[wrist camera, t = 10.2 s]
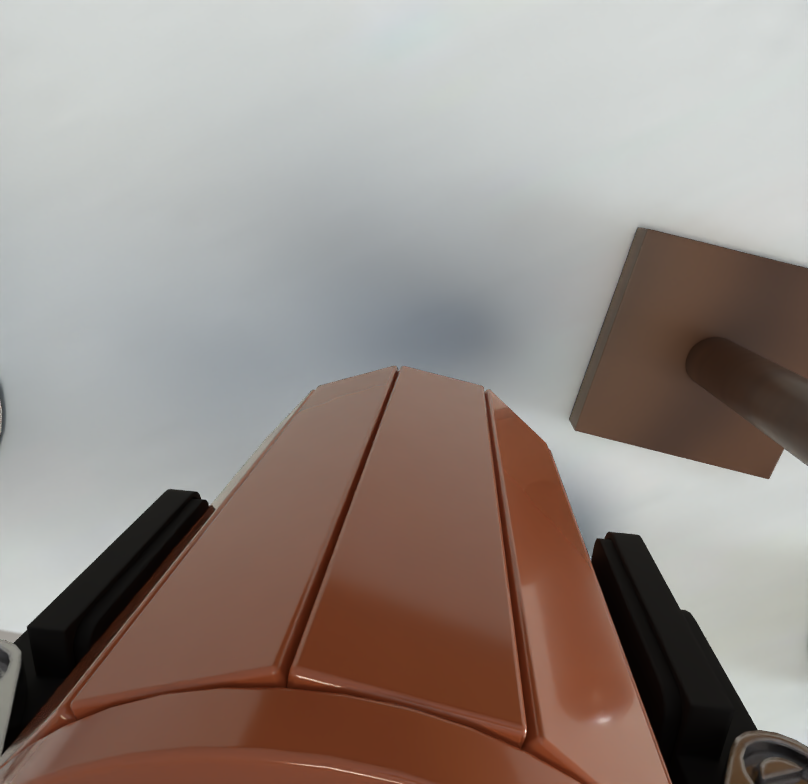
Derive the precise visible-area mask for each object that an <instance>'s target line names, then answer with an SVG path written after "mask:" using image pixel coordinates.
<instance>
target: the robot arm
mask: <svg viewBox="0 0 808 784" xmlns="http://www.w3.org/2000/svg"><path fill="white" fill-rule="evenodd" d="M1 425H2V408H1V401H0V433H1ZM208 507H209V505H208V502H207V501H206V500H202V499H201V497H200V494H199V493H198V492H194V491H184V490H174V489H168V490H167V491H165V492H164V493H163V494H162V495H161V496H160V497H159V498H158V499H157V500H156V501H155V502H154V503H153V504H152V505H151V506H150V507H149V508H148V509H147V510H146V511H145V512H144V513H143V514H142V515H141V516H140V517H139V518H138V519H137V520H136V521H135V522H134V523H133V524H132V525H131V526H130V527H129V528H128V529H127V530H125V531H124V532H123V533H122V534H121V535H120V536H119V537H118V538H117V539H116V540H115V541H114V542H113V543H112V544H111V545H110V546H109V547H108V548H107V549H106V550H105V551H104V552H103V553H102V554H101V555H100V556H99V557H98V558H97V559H96V560H95V561H94V562H93V563H92V564H91V565H90V566H89V567H88V568H87V569H86V570H85V571H84V572H82V573H81V574H80V575H79V576H78V577H77V578H76V579H75V580H74V581H73V582H72V583H71V584H70V585H69V586H68V587H67V588H66V589H65V590H64V591H63V592H62V593H61V594H60V595H59V596H58V597H57V598H56V599H55V600H54V601H53V602H52V603H51V604H50V605H49V606H48V607H47V608H46V609H45V610H44V611H43V612H42V613H40V614H39V615H38V616H37V617H36V618H35V619H34V620H33V621H32V622H31V623H30V624H29V625H28V626H27V630H26V631H25V632H24V633H23V634H22V635H21V636H20V637H19V638H18V639H17V640H16V641H15V642H14V643H11V642H8V641H6V640H0V758H1V756H2V755H3V754H4V753H5V751H6V750H7V749H8V748H9V747H10V745H11V744H12V743H13V742H14V741H15V739H16V738H17V737H18V736H19V735H20V733H21V732H22V731H23V730H24V729H25V727H26V726H27V725H28V724H29V723H30V721H31V720H32V719H33V718H34V717H35V715H36V714H37V713H38V712H39V711H40V709H41V708H42V707H43V706H44V705H45V703H46V702H47V701H48V700H49V699H50V697H51V696H52V695H53V694H54V693H55V691H56V690H57V689H58V688H59V687H60V685H61V684H62V683H63V682H64V681H65V679H66V678H67V677H68V676H69V675H70V673H71V672H72V671H73V670H74V669H75V667H76V666H77V665H78V664H79V662H80V661H81V660H82V659H83V658H84V656H85V655H86V654H87V653H88V652H89V650H90V649H91V648H92V647H93V646H94V644H95V643H96V642H97V641H98V640H99V638H100V637H101V636H102V635H103V634H104V632H105V631H106V630H107V629H108V628H109V626H110V625H111V624H112V623H113V622H114V620H115V619H116V618H117V617H118V616H119V614H120V613H121V612H122V611H123V610H124V608H125V607H126V606H127V605H128V604H129V602H130V601H131V600H132V599H133V598H134V596H135V595H136V594H137V593H138V592H139V590H140V589H141V588H142V587H143V586H144V584H145V583H146V582H147V581H148V580H149V578H150V577H151V576H152V575H153V573H154V572H155V571H156V570H157V569H158V567H159V566H160V565H161V564H162V563H163V561H164V560H165V559H166V558H167V557H168V555H169V554H170V553H171V552H172V551H173V549H174V548H175V547H176V546H177V545H178V543H179V542H180V541H181V540H182V539H183V537H184V536H185V535H186V534H187V533H188V531H189V530H190V529H191V528H192V527H193V525H194V524H195V523H196V522H197V521H198V519H199V518H200V517H201V516H202V515H203V513H204V512H205V511H206V510H207V509H208ZM591 562H592V565H593V568H594V571H595V573H596V576H597V579H598V582H599V584H600V587H601V590H602V592H603V595H604V598H605V601H606V603H607V606H608V609H609V612H610V614H611V617H612V620H613V623H614V625H615V628H616V631H617V633H618V636H619V639H620V642H621V644H622V647H623V650H624V653H625V655H626V658H627V661H628V664H629V666H630V669H631V672H632V674H633V677H634V680H635V683H636V685H637V688H638V691H639V694H640V696H641V699H642V702H643V705H644V707H645V710H646V713H647V715H648V718H649V721H650V724H651V726H652V729H653V732H654V735H655V737H656V740H657V743H658V746H659V748H660V751H661V754H662V756H663V759H664V762H665V765H666V767H667V770H668V773H669V776H670V778H671V781H672V784H808V747H807V746H805V745H804V744H802V743H800V742H798V741H797V740H794V739H792V738H789V737H786V736H784V735H781V734H778V733H775V732H768V731H762V730H757V728H756V726H755V724H754V723H753V721H752V719H751V717H750V716H749V714H748V712H747V710H746V708H745V707H744V705H743V703H742V701H741V700H740V698H739V696H738V694H737V693H736V691H735V689H734V687H733V686H732V684H731V682H730V680H729V678H728V677H727V675H726V673H725V671H724V670H723V668H722V666H721V664H720V663H719V661H718V659H717V657H716V655H715V654H714V652H713V650H712V648H711V647H710V645H709V643H708V641H707V640H706V638H705V636H704V634H703V633H702V631H701V629H700V627H699V625H698V624H697V622H696V620H695V619H694V617H693V616H692V615H691V613H690V612H688V611H686V610H680V608H679V606H678V604H677V602H676V600H675V599H674V597H673V595H672V593H671V591H670V589H669V588H668V586H667V584H666V582H665V580H664V578H663V577H662V575H661V573H660V571H659V569H658V567H657V565H656V564H655V562H654V560H653V558H652V556H651V554H650V553H649V551H648V549H647V547H646V545H645V543H644V542H643V540H642V538H641V537H640V536H639V535H635V534H624V533H614V532H608V533H607V534H606V536H605V539H596V541H595V544H594V549H593V554H592V559H591Z"/></svg>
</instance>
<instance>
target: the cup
mask: <svg viewBox="0 0 808 784" xmlns="http://www.w3.org/2000/svg"><path fill="white" fill-rule="evenodd" d="M0 784H672V781H671V778H670V776H669V773H668V770H667V767H666V765H665V762H664V759H663V756H662V754H661V751H660V748H659V746H658V743H657V740H656V737H655V735H654V732H653V729H652V726H651V724H650V721H649V718H648V715H647V713H646V710H645V707H644V705H643V702H642V699H641V696H640V694H639V691H638V688H637V685H636V683H635V680H634V677H633V674H632V672H631V669H630V666H629V664H628V661H627V658H626V655H625V653H624V650H623V647H622V644H621V642H620V639H619V636H618V633H617V631H616V628H615V625H614V623H613V620H612V617H611V614H610V612H609V609H608V606H607V603H606V601H605V598H604V595H603V592H602V590H601V587H600V584H599V582H598V579H597V576H596V573H595V571H594V568H593V565H592V562H591V560H590V557H589V554H588V552H587V549H586V546H585V543H584V541H583V538H582V535H581V532H580V530H579V527H578V524H577V521H576V519H575V516H574V513H573V511H572V508H571V505H570V502H569V500H568V497H567V494H566V491H565V489H564V486H563V483H562V480H561V478H560V475H559V472H558V470H557V467H556V464H555V461H554V459H553V456H552V453H551V450H550V449H548V446H547V444H546V443H545V442H544V441H543V440H542V439H541V438H540V437H539V436H538V435H537V434H536V433H535V432H534V431H533V430H532V429H531V428H530V427H529V426H528V425H527V424H526V423H524V422H523V421H522V420H521V419H520V418H519V417H518V416H517V415H516V414H515V413H514V412H513V411H512V410H511V409H510V408H509V407H508V406H507V405H506V404H505V403H504V402H503V401H501V400H500V399H499V398H498V397H497V396H496V395H495V394H494V393H493V392H492V391H491V390H490V389H487V390H486V391H485V392H484V387H483V386H481V385H477V384H473V383H469V382H466V381H462V380H458V379H454V378H450V377H446V376H442V375H438V374H434V373H430V372H426V371H422V370H418V369H414V368H410V367H406V366H401V368H400V370H399V371H398V368H397V366H391V367H387V368H383V369H380V370H376V371H372V372H368V373H365V374H361V375H357V376H354V377H350V378H346V379H342V380H339V381H335V382H331V383H327V384H324V385H320V386H318V387H317V388H316V390H311V391H310V392H309V393H308V395H307V396H306V397H305V398H304V399H303V400H302V401H301V402H300V403H299V404H298V405H297V406H296V407H295V408H294V409H293V410H292V411H291V413H290V414H289V415H288V416H287V417H286V418H285V419H284V420H283V421H282V422H281V423H280V424H279V425H278V426H277V427H276V428H275V429H274V431H273V432H272V433H271V434H270V435H269V436H268V437H267V438H266V439H265V440H264V441H263V442H262V444H261V445H260V446H259V447H258V448H257V450H256V451H255V452H254V453H253V454H252V456H251V457H250V458H249V459H248V460H247V462H246V463H245V464H244V465H243V466H242V468H241V469H240V470H239V471H238V472H237V474H236V475H235V476H234V477H233V478H232V480H231V481H230V482H229V483H228V484H227V486H226V487H225V488H224V489H223V491H222V492H221V493H220V494H219V495H218V497H217V498H216V499H215V500H214V501H213V503H212V504H211V505H210V506H209V507H208V509H207V510H206V511H205V512H204V513H203V515H202V516H201V517H200V518H199V519H198V521H197V522H196V523H195V524H194V525H193V527H192V528H191V529H190V530H189V531H188V533H187V534H186V535H185V536H184V537H183V539H182V540H181V541H180V542H179V543H178V545H177V546H176V547H175V548H174V549H173V551H172V552H171V553H170V554H169V555H168V557H167V558H166V559H165V560H164V561H163V563H162V564H161V565H160V566H159V567H158V569H157V570H156V571H155V572H154V573H153V575H152V576H151V577H150V578H149V580H148V581H147V582H146V583H145V584H144V586H143V587H142V588H141V589H140V590H139V592H138V593H137V594H136V595H135V596H134V598H133V599H132V600H131V601H130V602H129V604H128V605H127V606H126V607H125V608H124V610H123V611H122V612H121V613H120V614H119V616H118V617H117V618H116V619H115V620H114V622H113V623H112V624H111V625H110V626H109V628H108V629H107V630H106V631H105V632H104V634H103V635H102V636H101V637H100V638H99V640H98V641H97V642H96V643H95V644H94V646H93V647H92V648H91V649H90V650H89V652H88V653H87V654H86V655H85V656H84V658H83V659H82V660H81V661H80V662H79V664H78V665H77V666H76V667H75V669H74V670H73V671H72V672H71V673H70V675H69V676H68V677H67V678H66V679H65V681H64V682H63V683H62V684H61V685H60V687H59V688H58V689H57V690H56V691H55V693H54V694H53V695H52V696H51V697H50V699H49V700H48V701H47V702H46V703H45V705H44V706H43V707H42V708H41V709H40V711H39V712H38V713H37V714H36V715H35V717H34V718H33V719H32V720H31V721H30V723H29V724H28V725H27V726H26V727H25V729H24V730H23V731H22V732H21V733H20V735H19V736H18V737H17V738H16V739H15V741H14V742H13V743H12V744H11V745H10V747H9V748H8V749H7V750H6V751H5V753H4V754H3V755H2V756H1V758H0Z"/></svg>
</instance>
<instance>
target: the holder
mask: <svg viewBox="0 0 808 784" xmlns="http://www.w3.org/2000/svg"><path fill="white" fill-rule="evenodd" d="M569 420H570V422H571V424H572V426H573V428H574V430H575V431H579V432H583V433H587V434H591V435H595V436H599V437H603V438H607V439H611V440H615V441H619V442H623V443H627V444H631V445H635V446H639V447H643V448H647V449H651V450H655V451H658V452H662V453H666V454H670V455H674V456H678V457H682V458H686V459H690V460H694V461H698V462H702V463H706V464H710V465H714V466H718V467H722V468H726V469H730V470H734V471H738V472H742V473H746V474H750V475H754V476H758V477H762V478H766V479H769V478H770V476H771V474H772V472H773V470H774V468H775V466H776V464H777V462H778V460H779V458H780V456H781V454H782V452H783V450H784V449H786V450H787V451H788V452H790V453H791V454H792V455H794V456H795V457H796V458H798V459H799V460H800V461H802V462H803V463H804V464H806V465H807V466H808V268H804V267H800V266H796V265H792V264H788V263H784V262H780V261H776V260H772V259H768V258H764V257H760V256H756V255H752V254H748V253H744V252H740V251H736V250H732V249H728V248H724V247H720V246H716V245H712V244H707V243H703V242H699V241H695V240H691V239H687V238H683V237H679V236H675V235H671V234H667V233H663V232H659V231H655V230H651V229H645V228H638V229H637V231H636V234H635V237H634V240H633V242H632V245H631V248H630V251H629V254H628V256H627V259H626V262H625V265H624V268H623V270H622V273H621V276H620V279H619V282H618V284H617V287H616V290H615V293H614V296H613V298H612V301H611V304H610V307H609V310H608V312H607V315H606V318H605V321H604V324H603V326H602V329H601V332H600V335H599V338H598V340H597V343H596V346H595V349H594V352H593V354H592V357H591V360H590V363H589V366H588V368H587V371H586V374H585V377H584V380H583V382H582V385H581V388H580V391H579V394H578V396H577V399H576V402H575V405H574V408H573V410H572V413H571V416H570V419H569Z"/></svg>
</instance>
